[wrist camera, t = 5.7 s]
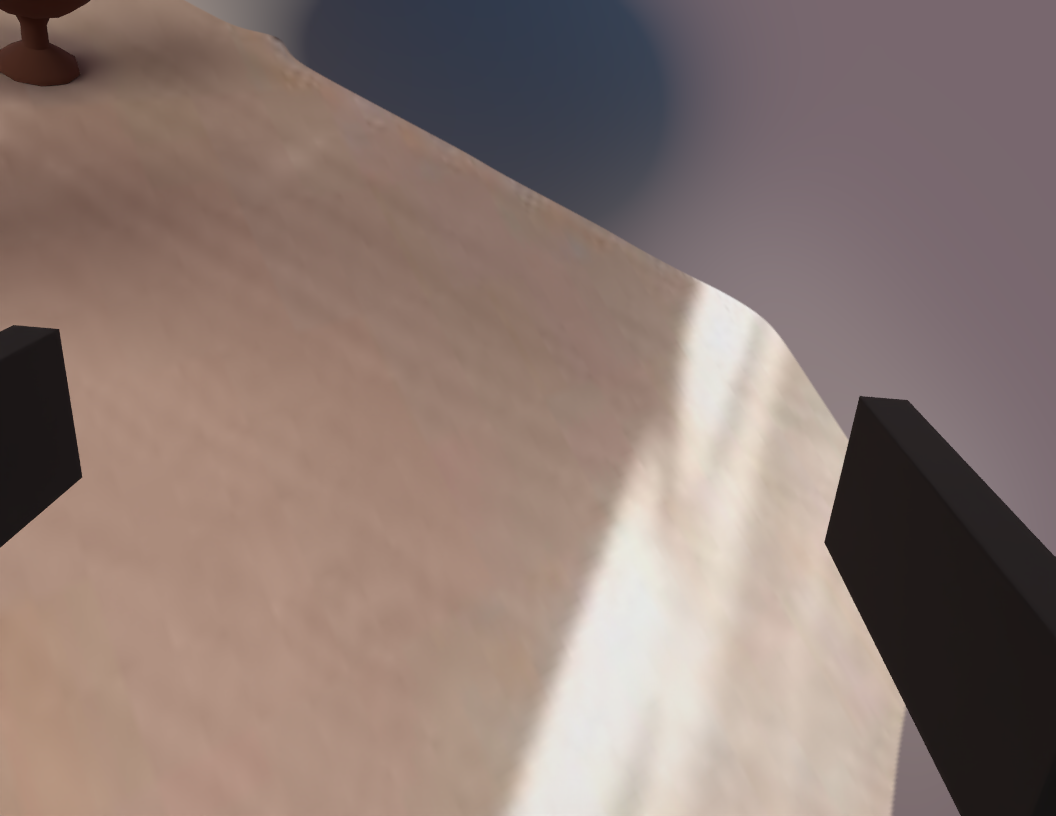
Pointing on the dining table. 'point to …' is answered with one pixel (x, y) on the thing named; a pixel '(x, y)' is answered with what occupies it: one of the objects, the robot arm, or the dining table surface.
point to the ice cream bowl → (38, 44)
